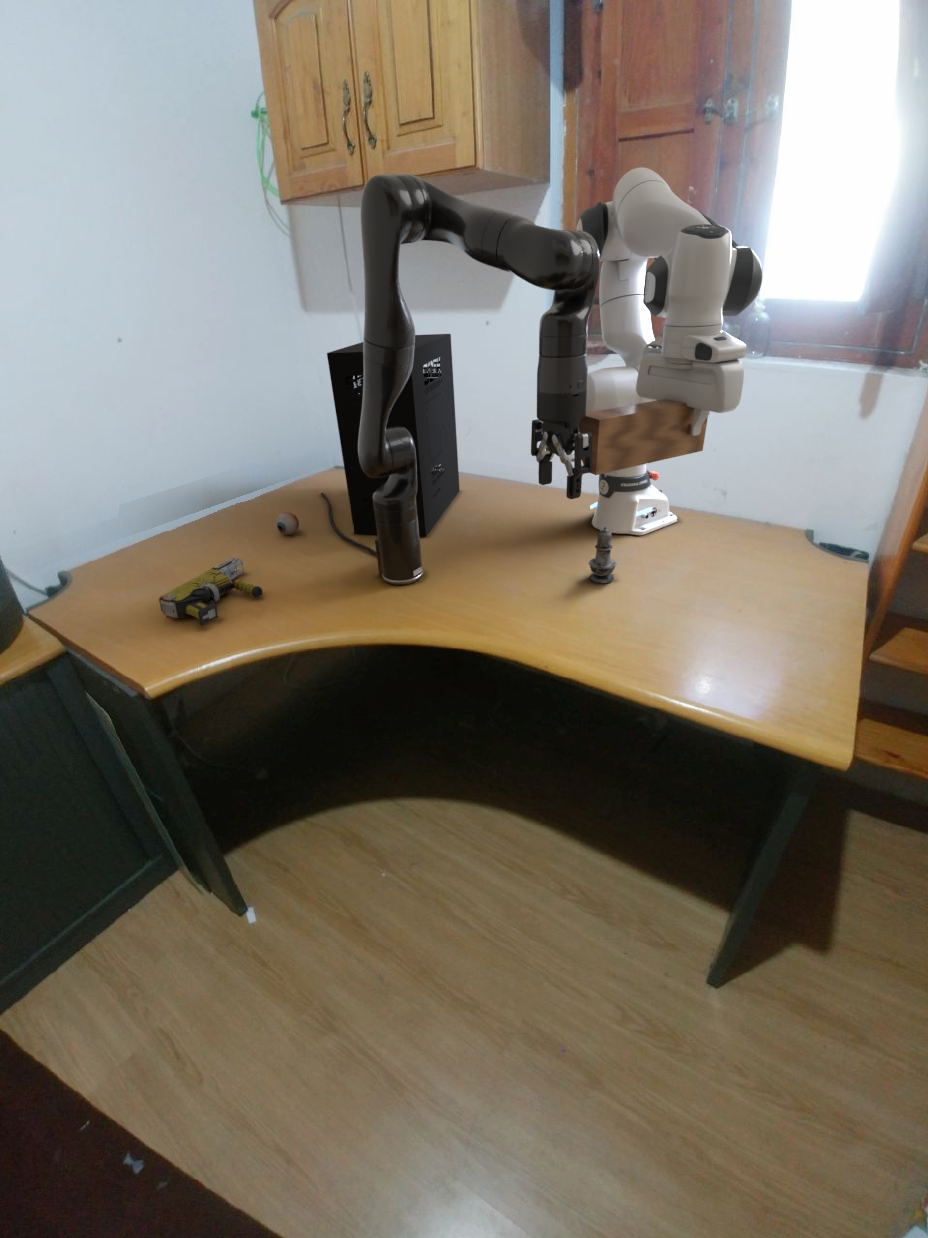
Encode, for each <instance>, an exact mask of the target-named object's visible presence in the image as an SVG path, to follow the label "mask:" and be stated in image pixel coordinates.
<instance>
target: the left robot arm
mask: <svg viewBox="0 0 928 1238" xmlns="http://www.w3.org/2000/svg"><path fill="white" fill-rule="evenodd" d="M359 211H360V217H359V218H360V232H361V234H360V235H361V245H362V246H361V247H362V248H361V250H362V263H363V281H364V282H363V283H364V286H363V287H364V289H363V290H364V292H363V293H364V295H363V296H364V301H363V302H364V315H363V316H364V317H363V318H364V321H363V336H362V337H363V339H362V342H363V400H362V411H361V420H360V428H359V437H358V456H359V462H360V465H361V468H362V470H363V472H364V473H365V474H366V475H367V476H368V477H371V478H380V477H385V476H389V478H388V479H387V481H386V482H385V483H384V484H383V485H382V486H381V487H380V488H379V489H377V490H376V491H375V492H374V494H373V506H374V513H375V520H376V528H377V537H375V538H374V545H375V550H374V549H373V548H371V547H369V546H367V545H365V544H362V543H360V542H358V541H355V540H353V539H352V538H349V537H348V536H346V535H345V534H344V533H342V532H341V531H340V530H339V529H338V528H337V526H336V524H335V522H334V519H333V514H332V507H331V506H332V505H331V502H330V499H329V498H328V497H327V496H326V494H325V493H324V492H320V496H321V497H322V498H323V499H324V500H325V502H326V504H327V510H328V511H327V512H328V518H329V519H328V520H329V523H330V525H331V527H332V529H333V530H334V532H335V533H336V534H337V535H338V536H339V537H341V538H342V539H344V540H345V541H346V542H348V543H350V544H352V545H354V546H356V547H359V548H361V549H364V550H365V551H368V552H369V553H371V554H372V555H373V556H375V557H376V559H377V560H376V561H377V567H378V575H379V578H382V580H383V581H384V582H385V583H386V584H389V585H392V586H403V585H404V586H405V585H410V584H413V583H416V582H419V581H420V580H422V578H423V577H424V569H423V560H422V559H423V558H422V548H421V538H420V537H421V536H419V526H418V516H417V505H416V494H417V463H416V450H415V445H414V441H413V438H412V436H411V434H410V432H409V431H408V430H407V429H406V428H404V427H402V426H394V427H389V428H386V427H387V421H388V417H389V414H390V411H391V409H392V407H393V405H394V403H395V402H396V400H397V398H398V397H399V395H400V393H401V391H402V390H403V388H404V386H405V384H406V383H407V381H408V379H409V377H410V374H411V372H412V368H413V361H414V348H415V335H416V327H415V324H414V320H413V317H412V315H411V312H410V310H409V307H408V305H407V302H406V300H405V298H404V295H403V293H402V289H401V284H400V275H399V274H400V273H399V272H400V252H401V245H407V244H415V243H417V242H421V241H428V242H429V241H430V242H441V243H446V244H450V245H452V246H455V247H456V248H457V249H459V250H460V251H461V252H463V253H464V254H465V255H466V256H467V257H469V258H471V259H472V260H474V261H476V262H478V263H480V264H483V265H485V266H488V267H491V268H494V269H497V270H499V271H503V272H506V273H509V274H514V275H515V276H516V277H518V278H520V279H521V280H523V281H525V282H527V283H529V284H530V285H533V286H535V287H537V288H540V289H543V290H548V291H553V296H552V297H553V298H552V302H551V306H550V308H549V309H548V310H547V311H545V312H544V313H543V314H542V315H541V317H540V319H539V326H538V327H539V328H538V342H539V343H538V362H537V369H536V370H537V371H536V419H532V420H531V435H530V436H531V437H530V455H531V456H532V457H535V460H536V462H537V463H538V484H539V485H541V486H545V485H550V484H552V481H553V461H552V460H553V458H554V456H555V455H556V456H557V457H559V460H560V463H562V464H563V465H564V467H565V470H566V473H567V476H566V493H565V494H566V495H565V496H566V498H567V499H569V500H575V499H578V498H580V497H581V495H582V484H583V482H582V481H583V475H584V474H592V473H591V472H592V446H593V436H592V433H580V430H579V422H580V421H581V420H582V419H584V418H585V416H586V399H587V377H588V373H589V367H588V339H589V334H588V333H589V320H590V316H591V312H592V309H593V306H594V305H593V304H594V301H595V296H596V292H597V288H598V285H599V284H598V283H599V280H600V273H601V261H600V255H599V249H598V246H597V243H596V241H595V239H594V238H593V237H592V236H591V235H590V234H589V233H587V232H585V231H580V230H576V229H573V230H572V229H571V230H570V229H555V228H549V227H545V226H540V225H537V224H535V222H533V221H532V220H530V219H529V218H527V217H524V216H522V215H518V214H514V213H511V212H507V211H504V210H500V209H497V208H493V207H488V206H484V205H480V204H476V203H473V202H470V201H467V200H465V199H464V200H463V199H462V198H459V197H456V196H454V195H452V194H450V193H448V192H447V191H445V190H442V189H441V188H439V187H437V186H436V185H434V184H432V183H431V182H428V181H426V180H425V179H423V178H421V177H419V176H416V175H414V174H411V173H410V174H408V173H385V174H383V173H382V174H376V175H373V176H371V177H370V178H369V179H368V180H367V181H366V183H365V185H364V186H363V189H362V192H361V198H360V210H359ZM538 443H539V445H538ZM573 452H574V453H573ZM583 458H585V466H584V465H583V462H582V459H583Z"/></svg>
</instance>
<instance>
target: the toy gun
mask: <svg viewBox="0 0 928 1238" xmlns="http://www.w3.org/2000/svg"><path fill="white" fill-rule="evenodd" d="M240 566H241V567H242V569H241V570H240V569H238V568H239V567H240ZM244 566H245V565H244V561H243V560H242V559H241V558H237V559H236V557H231V558H230V559H228V560H226V561H224V562H222V563H220V564H219V565H217V566H215V567H211V568H209V569H208V570H206V571H204V572H203V573H200V574H199V575H197V576H195V577H193V578H191V579H190V580H188V581H186V582H184V583H182V584H180V585H179V586H177V587H175V588H172V589H171V590H170V591H168V592H166V593H164V594H162V595H160V596H159V598H158V601H159V605H160V611H161V613H162V614H163V615H164V616H165V618H167V619H170V620H173V619H184V618H187V617H191V616H192V617H194V618H196V619H198V620H199V625H200V626H204V625H207V624H208V623H211V622H212V621H214V620H216V619H218V618H219V614H218V610H217V609H218V608H217V604H216V603H218V602H219V601H220V598H221V597H220V596H222V595H225V594H227V593H229V592H231V591H232V590H237V591H239V592H241V593H244V594H247V595H249V596H252V597H253V598H257V599H258V598H260V597H261V596H263V589H262V587H261V586H259V585H254V584H252V583H249V582H247V581H244V580H242V579H236V578H238V577H239V576H240V575H243V574H245V567H244ZM234 579H235V580H234ZM233 580H234V582H232V581H233Z"/></svg>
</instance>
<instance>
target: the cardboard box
mask: <svg viewBox="0 0 928 1238" xmlns="http://www.w3.org/2000/svg"><path fill="white" fill-rule="evenodd" d="M326 355H327V356H326V357H327V364H328V370H329V377H330V383H331V389H332V390H331V391H332V396H333V403H334V409H335V410H334V411H335V416H336V422H337V429H338V436H339V442H340V449H341V450H340V451H341V456H342V461H343V469H344V476H345V482H346V488H347V496H348V501H349V507H350V515H351V522H352V528H353V534H354V535H355V534H356V535H374V536H375V535H377V528H376V520H375V513H374V506H373V494H374V492H375V491H376V490H377V489H379V488H380V487H381V486H382V485H383V484H384V483H385V482H386V481H387V479H388V478H389V476H385V477H380V478H371V477H368V476H367V475H366V474H365V473H364V472H363V470H362V468H361V465H360V462H359V456H358V437H359V428H360V420H361V411H362V400H363V341H361V342H358V343H355V344H351V345H348V346H345V347H341V348H339V349H334V350H332V351H329V352H327V353H326ZM431 362H432V363H431ZM425 365H426V366H425ZM453 370H454V367H453V351H452V335H451V333H434V334H433V333H432V334H415V348H414V361H413V368H412V372H411V374H410V377H409V379H408V381H407V383H406V384H405V386H404V388H403V390H402V391H401V393H400V395H399V397H398V398H397V400H396V402H395V403H394V405H393V407H392V409H391V411H390V414H389V417H388V421H387V427H386V428H389V427H394V426H402V427H404V428H406V429H407V430H408V431H409V432H410V434H411V436H412V438H413V441H414V445H415V450H416V463H417V494H416V505H417V516H418V526H419V536H420V537H422V538H423V537H424V538H426V537H427V536H428V535H429V534H430V532H431V531H432V530H433V528H434V527H435V525H436V524H437V523H438V522H439V520H440V519H441V517H442V516H443V514H444V513H445V512H446V511H447V509H448V508H449V506H450V505H451V504H452V502H453V501H454V499H455V498H456V496H457V495H458V494H459V493H460V476H459V475H460V474H459V457H458V456H459V455H458V440H457V439H458V438H457V421H456V420H457V419H456V404H455V403H456V402H455V386H454V371H453Z"/></svg>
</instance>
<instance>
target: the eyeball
mask: <svg viewBox="0 0 928 1238" xmlns="http://www.w3.org/2000/svg"><path fill="white" fill-rule="evenodd" d="M299 525H300V522H299V519H298V517H297V516H296V515H295V514H294V513H292V512H287V511H286V512H282V513H280V514H279V515H278V516H277V517H276V520H275V527H276V529H277V530H278V531H279V532H280V533H281V534H282V535H285V536H286V535H287V536H289V535H293V534H295V533H296V532H297V531H298V529H299Z"/></svg>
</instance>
